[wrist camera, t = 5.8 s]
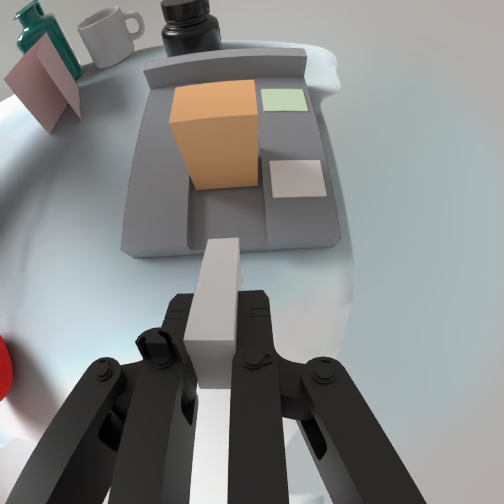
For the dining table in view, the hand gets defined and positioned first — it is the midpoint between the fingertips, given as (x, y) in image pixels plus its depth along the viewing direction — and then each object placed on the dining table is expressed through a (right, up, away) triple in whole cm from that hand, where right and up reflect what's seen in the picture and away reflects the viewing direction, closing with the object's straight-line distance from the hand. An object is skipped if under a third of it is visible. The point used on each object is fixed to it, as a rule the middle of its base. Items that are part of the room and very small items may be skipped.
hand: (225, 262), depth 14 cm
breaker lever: (-1, +9, +13) cm, 15 cm away
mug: (-24, +39, +24) cm, 51 cm away
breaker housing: (-1, +12, +16) cm, 20 cm away
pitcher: (-37, +37, +23) cm, 57 cm away
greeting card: (-29, +25, +20) cm, 43 cm away
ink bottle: (-8, +33, +22) cm, 40 cm away
